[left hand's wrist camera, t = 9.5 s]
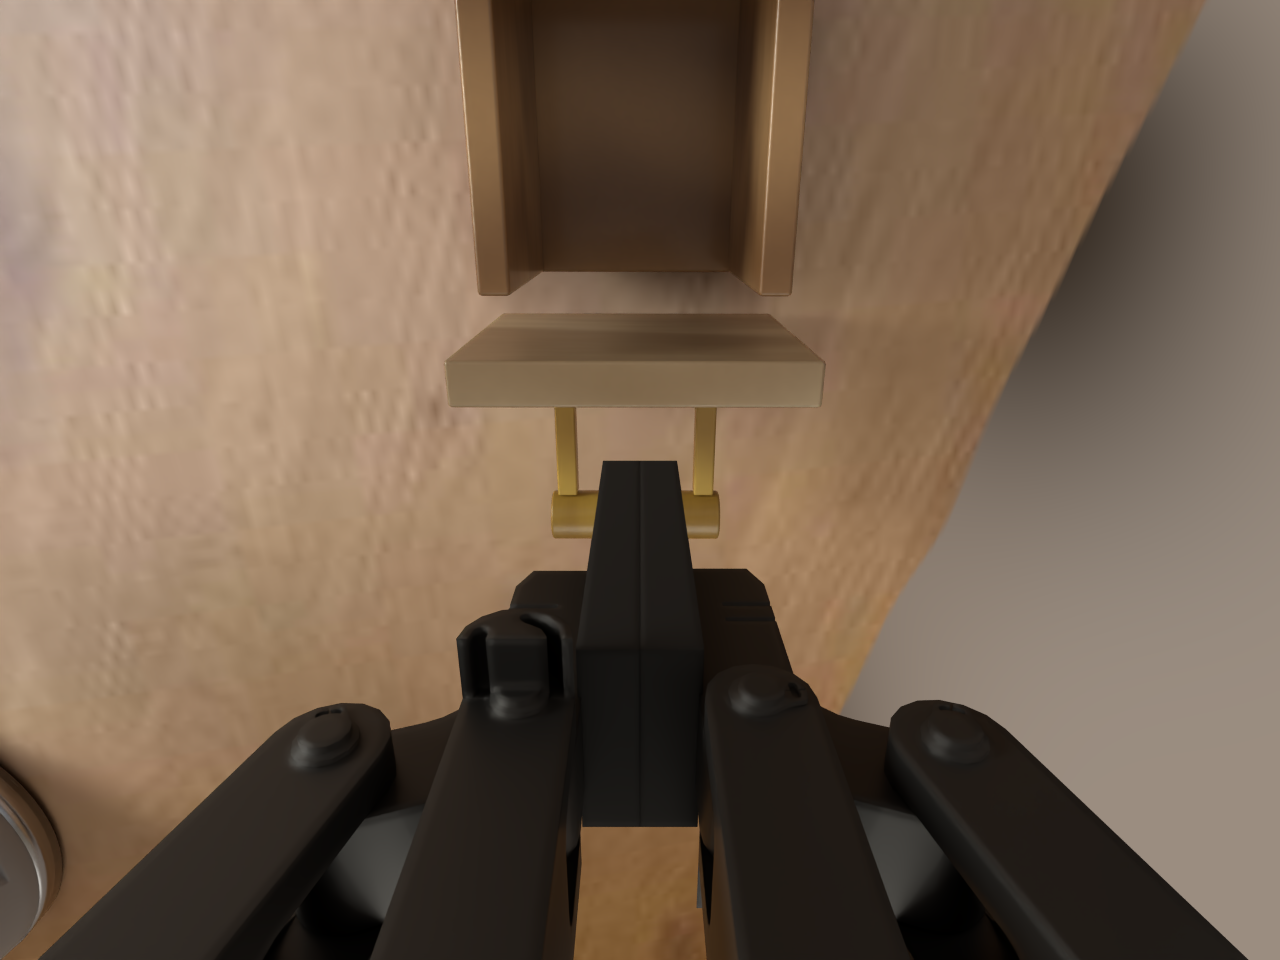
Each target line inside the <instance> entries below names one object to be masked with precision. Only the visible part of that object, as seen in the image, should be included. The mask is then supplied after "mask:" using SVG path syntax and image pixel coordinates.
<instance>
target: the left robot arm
mask: <svg viewBox="0 0 1280 960" xmlns="http://www.w3.org/2000/svg"><path fill="white" fill-rule="evenodd" d="M456 640H457V649H458V658H459V668H460V677H461V686H462V695H463V700H462V702H461V705H460V708H459V710H457V711H455V712H453V713H451V714H449V715H447V716H445V717H443V718H439V719H436V720H433V721H429V722H426V723H422V724H418V725H413V726H409V727H404V728H400V729H395V730H391V728H390V722H389V720H388V719H387V718H386V716H385V715H384V714H383V713H382V712H381V711H380V710H379V709H376V708H373V707H371V706H368V705H365V704H355V703H339V704H335V705H330V706H325V707H320V708H317V709H314V710H312V711H310V712H307V713H305V714H303V715H301V716H298V717H296V718H294V719H293V720H291V721H290V722H288V723H287V724H286V725H284V726H283V727H282V728H280V729H279V730H278V731H276V732H275V733H274V734H273V735H272V736H271V737H270V738H269V739H268V740H266V741H265V742H264V743H263V744H262V745H261V746H260V747H259V748H258V749H257V750H256V751H255V752H254V753H253V754H252V755H251V756H250V757H249V758H248V759H247V760H246V761H245V762H243V763H242V764H241V765H240V766H239V767H238V768H237V769H236V770H235V771H234V772H233V773H232V774H231V775H230V776H229V777H228V778H227V779H226V780H225V781H224V782H223V783H222V784H221V785H219V786H218V787H217V788H216V789H215V790H214V791H213V792H212V793H211V794H210V795H209V796H208V797H207V798H206V799H205V800H204V801H203V802H202V803H201V804H200V805H199V806H198V807H197V808H195V809H194V810H193V811H192V812H191V813H190V814H189V815H188V816H187V817H186V818H185V819H184V820H183V821H182V822H181V823H180V824H179V825H178V826H177V827H176V828H175V829H174V830H173V831H171V832H170V833H169V834H168V835H167V836H166V837H165V838H164V839H163V840H162V841H161V842H160V843H159V844H158V845H157V846H156V847H155V848H154V849H153V850H152V851H151V852H150V853H148V854H147V855H146V856H145V857H144V858H143V859H142V860H141V861H140V862H139V863H138V864H137V865H136V866H135V867H134V868H133V869H132V870H131V871H130V872H129V873H128V874H127V875H126V876H124V877H123V878H122V879H121V880H120V881H119V882H118V883H117V884H116V885H115V886H114V887H113V888H112V889H111V890H110V891H109V892H108V893H107V894H106V895H105V896H104V897H103V898H102V899H100V900H99V901H98V902H97V903H96V904H95V905H94V906H93V907H92V908H91V909H90V910H89V911H88V912H87V913H86V914H85V915H84V916H83V917H82V918H81V919H80V920H79V921H78V922H76V923H75V924H74V925H73V926H72V927H71V928H70V929H69V930H68V931H67V932H66V933H65V934H64V935H63V936H62V937H61V938H60V939H59V940H58V941H57V942H56V943H55V944H53V945H52V946H51V947H50V948H49V949H48V950H47V951H46V952H45V953H44V954H43V955H42V956H41V957H40V958H39V959H38V960H573V957H574V945H575V934H576V922H577V911H578V899H579V887H580V876H581V864H582V863H581V838H580V831H581V820H582V826H583V827H697V826H698V817H699V827H700V838H699V863H698V888H697V908H702V910H703V921H704V933H705V944H706V956H707V960H1248V959H1247V958H1246V957H1245V956H1244V955H1243V954H1242V953H1241V952H1240V951H1239V950H1238V949H1236V948H1235V947H1234V946H1233V945H1232V944H1231V943H1230V942H1229V941H1228V940H1227V939H1226V938H1225V937H1224V936H1223V935H1222V934H1221V933H1220V932H1219V931H1218V930H1217V929H1215V928H1214V927H1213V926H1212V925H1211V924H1210V923H1209V922H1208V921H1207V920H1206V919H1205V918H1204V917H1203V916H1202V915H1201V914H1200V913H1199V912H1198V911H1196V910H1195V909H1194V908H1193V907H1192V906H1191V905H1190V904H1189V903H1188V902H1187V901H1186V900H1185V899H1184V898H1183V897H1182V896H1181V895H1180V894H1179V893H1178V892H1177V891H1175V890H1174V889H1173V888H1172V887H1171V886H1170V885H1169V884H1168V883H1167V882H1166V881H1165V880H1164V879H1163V878H1162V877H1161V876H1160V875H1159V874H1158V873H1157V872H1155V871H1154V870H1153V869H1152V868H1151V867H1150V866H1149V865H1148V864H1147V863H1146V862H1145V861H1144V860H1143V859H1142V858H1141V857H1140V856H1139V855H1138V854H1137V853H1136V852H1134V851H1133V850H1132V849H1131V848H1130V847H1129V846H1128V845H1127V844H1126V843H1125V842H1124V841H1123V840H1122V839H1121V838H1120V837H1119V836H1118V835H1117V834H1115V833H1114V832H1113V831H1112V830H1111V829H1110V828H1109V827H1108V826H1107V825H1106V824H1105V823H1104V822H1103V821H1102V820H1101V819H1100V818H1099V817H1098V816H1097V815H1095V814H1094V813H1093V812H1092V811H1091V810H1090V809H1089V808H1088V807H1087V806H1086V805H1085V804H1084V803H1083V802H1082V801H1081V800H1080V799H1079V798H1078V797H1077V796H1076V795H1075V794H1073V793H1072V792H1071V791H1070V790H1069V789H1068V788H1067V787H1066V786H1065V785H1064V784H1063V783H1062V782H1061V781H1060V780H1059V779H1058V778H1057V777H1056V776H1055V775H1053V774H1052V773H1051V772H1050V771H1049V770H1048V769H1047V768H1046V767H1045V766H1044V765H1043V764H1042V763H1041V762H1040V761H1039V760H1038V759H1037V758H1036V757H1034V756H1033V755H1032V754H1031V753H1030V752H1029V751H1028V750H1027V749H1026V748H1025V747H1024V746H1023V745H1022V744H1021V743H1020V742H1019V741H1018V740H1017V739H1016V738H1015V737H1013V736H1012V735H1011V734H1010V733H1009V732H1008V731H1007V730H1006V729H1005V728H1003V727H1002V726H1001V725H999V724H998V723H997V722H995V721H994V720H992V719H991V718H990V717H988V716H987V715H985V714H983V713H980V712H978V711H976V710H973V709H971V708H969V707H967V706H964V705H961V704H956V703H951V702H946V701H941V700H923V701H915V702H912V703H910V704H907V705H904V706H902V707H900V708H899V709H898V711H897V712H896V713H895V714H894V715H893V716H892V717H891V722H890V728H889V727H884V726H880V725H876V724H871V723H867V722H862V721H858V720H854V719H851V718H847V717H844V716H841V715H837V714H835V713H833V712H831V711H829V710H827V709H825V708H823V707H821V706H820V704H819V701H818V699H817V697H816V695H815V694H814V692H813V691H812V689H811V688H810V686H809V685H808V684H807V683H806V682H804V681H803V680H802V679H800V678H799V677H797V676H796V675H795V674H793V671H792V668H791V665H790V662H789V659H788V656H787V653H786V650H785V647H784V644H783V641H782V638H781V635H780V632H779V628H778V625H777V622H776V621H775V616H774V613H773V610H772V607H771V606H770V601H769V598H768V595H767V592H766V589H765V586H764V584H763V583H762V582H761V581H760V580H759V579H757V578H756V577H755V576H754V575H753V574H752V573H751V572H749V571H748V570H747V569H693V568H692V561H691V555H690V548H689V541H688V534H687V527H686V520H685V513H684V506H683V499H682V493H681V486H680V479H679V472H678V465H677V461H603V465H602V472H601V479H600V486H599V493H598V499H597V506H596V513H595V520H594V527H593V534H592V541H591V548H590V555H589V561H588V568H587V571H533V572H532V573H531V574H530V575H529V576H528V577H526V578H525V579H524V580H523V581H522V582H521V583H520V584H519V585H517V586H516V589H515V592H514V595H513V598H512V601H511V604H510V608H509V610H501V611H498V612H495V613H492V614H489V615H485V616H482V617H480V618H479V619H477V620H476V621H474V622H472V623H471V624H469V625H468V626H466V627H465V628H464V630H463V631H462V632H461V633H460V635H459V636H458V637H457V639H456ZM62 869H63V866H62V856H61V851H60V847H59V843H58V840H57V838H56V835H55V832H54V830H53V828H52V826H51V824H50V822H49V820H48V819H47V817H46V816H45V814H44V812H43V811H42V809H41V808H40V807H39V805H38V804H37V803H36V801H35V800H34V799H33V797H32V796H31V795H30V794H29V793H28V792H27V791H26V790H25V789H24V787H23V786H22V785H21V784H20V783H19V782H18V781H16V780H15V779H14V778H13V777H12V776H11V775H10V774H9V773H8V772H6V771H5V770H4V769H3V768H2V767H0V960H1V959H2V958H3V957H4V956H5V955H6V954H8V953H9V952H10V951H11V950H12V949H13V948H14V947H15V946H17V945H18V944H19V943H20V942H21V941H22V940H23V939H24V938H25V937H26V935H27V934H28V933H29V932H30V931H31V930H32V928H33V927H34V926H35V925H36V924H37V922H38V921H39V920H40V919H41V918H42V916H43V915H44V914H45V913H46V912H47V910H48V909H49V908H50V907H51V905H52V904H53V902H54V900H55V898H56V896H57V894H58V891H59V889H60V885H61V880H62Z"/></svg>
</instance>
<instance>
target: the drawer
mask: <svg viewBox="0 0 1280 960" xmlns="http://www.w3.org/2000/svg"><path fill="white" fill-rule="evenodd" d="M455 12H456V24H457V37H458V49H459V62H460V74H461V87H462V99H463V112H464V125H465V137H466V150H467V162H468V175H469V187H470V200H471V212H472V225H473V237H474V250H475V262H476V275H477V287H478V293H479V295H482V296H508V295H510V294H511V293H513V292H514V291H516V290H517V289H518V288H520V287H521V286H523V285H524V284H525V283H527V282H528V281H530V280H531V279H532V278H534V277H535V276H537V275H538V274H539V273H541V272H730V273H732V274H733V275H734V276H736V277H737V278H738V279H740V280H741V281H742V282H743V283H745V284H746V285H747V286H749V287H750V288H751V289H753V290H754V291H755V292H756V293H758V294H759V295H761V296H789V295H791V293H792V283H793V270H794V257H795V244H796V231H797V218H798V205H799V192H800V180H801V167H802V154H803V141H804V128H805V115H806V102H807V89H808V76H809V63H810V50H811V38H812V25H813V12H814V0H455ZM825 365H826V364H825V362H824V361H823V360H822V359H821V358H820V357H819V356H817V355H816V354H815V353H814V352H813V351H812V350H810V349H809V348H808V347H807V346H806V345H805V344H803V343H802V342H801V341H800V340H799V339H798V338H796V337H795V336H794V335H793V334H792V333H791V332H790V331H788V330H787V329H786V328H785V327H784V326H783V325H781V324H780V323H779V322H778V321H777V320H776V319H774V318H773V317H772V316H771V315H769V314H502V315H501V316H500V317H499V318H497V319H496V320H495V321H494V322H492V323H491V324H490V325H489V326H487V327H486V328H485V329H484V330H483V331H481V332H480V333H479V334H478V335H476V336H475V337H474V338H473V339H472V340H470V341H469V342H468V343H467V344H465V345H464V346H463V347H462V348H461V349H459V350H458V351H457V352H456V353H454V354H453V355H452V356H451V357H449V358H448V359H447V360H446V361H445V363H444V369H445V379H446V389H447V399H448V405H449V406H450V407H554V410H555V433H556V455H557V478H558V490H556V491H554V492H553V495H552V503H551V528H552V534H553V537H554V538H592V534H593V527H594V520H595V513H596V506H597V499H598V493H599V491H595V490H578V489H579V479H578V448H577V417H576V407H671V408H695V426H694V458H693V491H681V493H682V499H683V506H684V513H685V520H686V527H687V534H688V539H716V538H718V535H719V529H720V501H719V495H718V492H717V491H713V482H714V458H715V435H716V411H717V408H818V407H820V406H821V404H822V395H823V385H824V375H825Z"/></svg>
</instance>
